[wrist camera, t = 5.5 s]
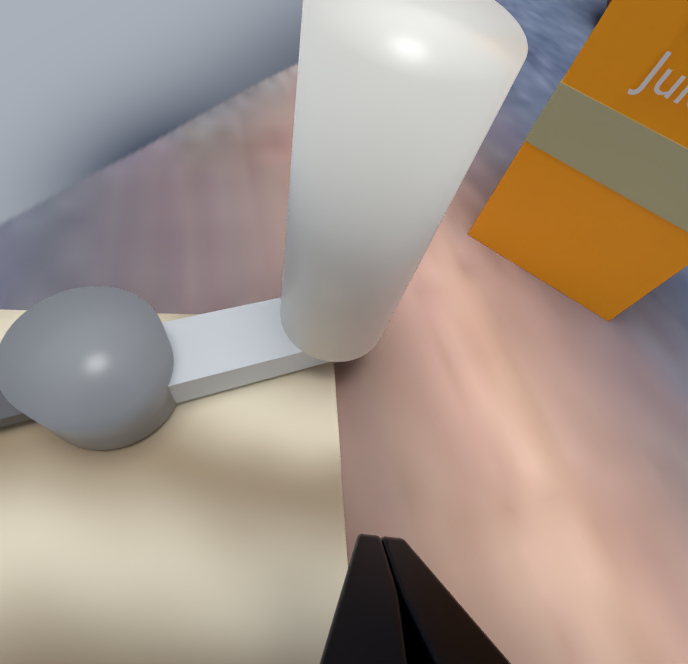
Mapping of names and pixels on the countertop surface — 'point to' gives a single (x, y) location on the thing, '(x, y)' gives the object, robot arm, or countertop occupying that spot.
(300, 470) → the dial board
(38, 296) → the countertop surface
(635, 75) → the orange juice
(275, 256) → the countertop surface
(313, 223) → the crank handle
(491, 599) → the countertop surface
